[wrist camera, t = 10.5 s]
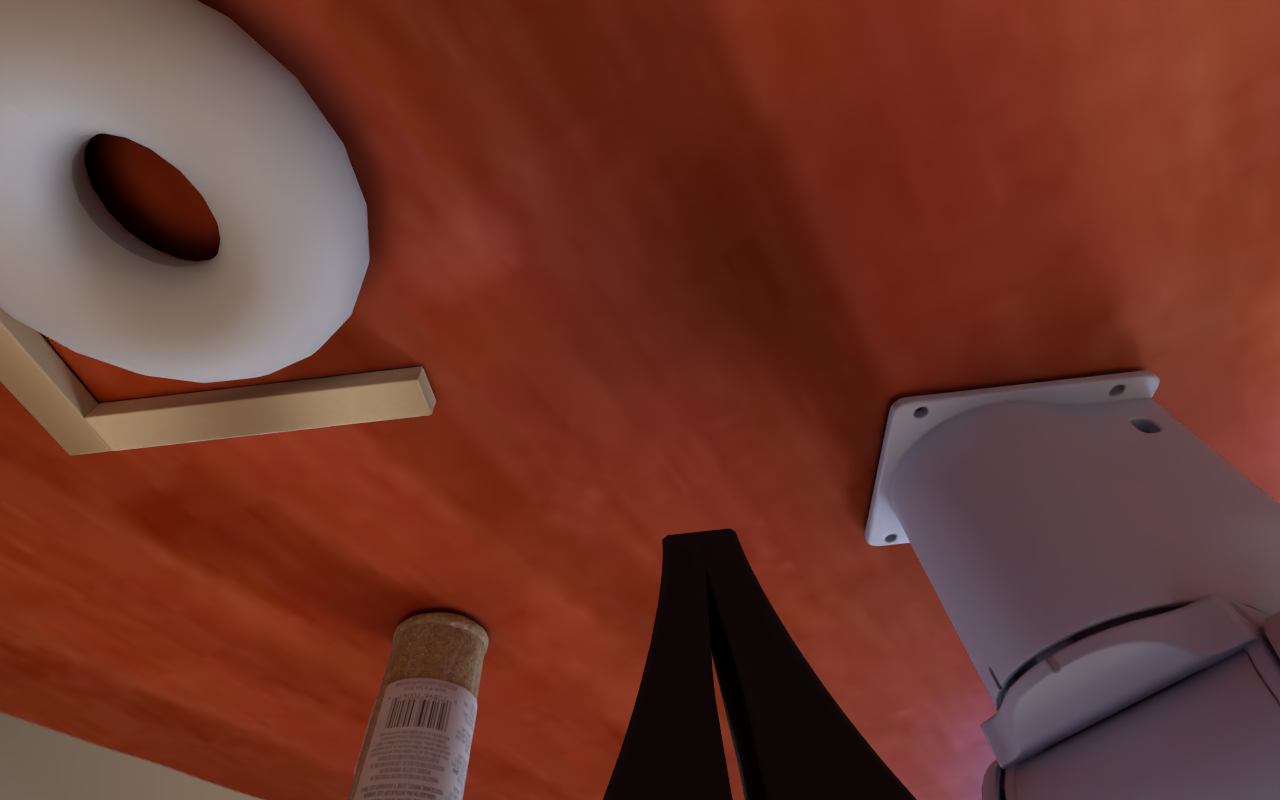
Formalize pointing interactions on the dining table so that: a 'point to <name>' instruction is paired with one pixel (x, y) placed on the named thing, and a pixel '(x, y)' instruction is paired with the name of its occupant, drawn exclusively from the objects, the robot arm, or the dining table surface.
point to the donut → (206, 155)
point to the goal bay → (194, 402)
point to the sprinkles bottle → (423, 712)
